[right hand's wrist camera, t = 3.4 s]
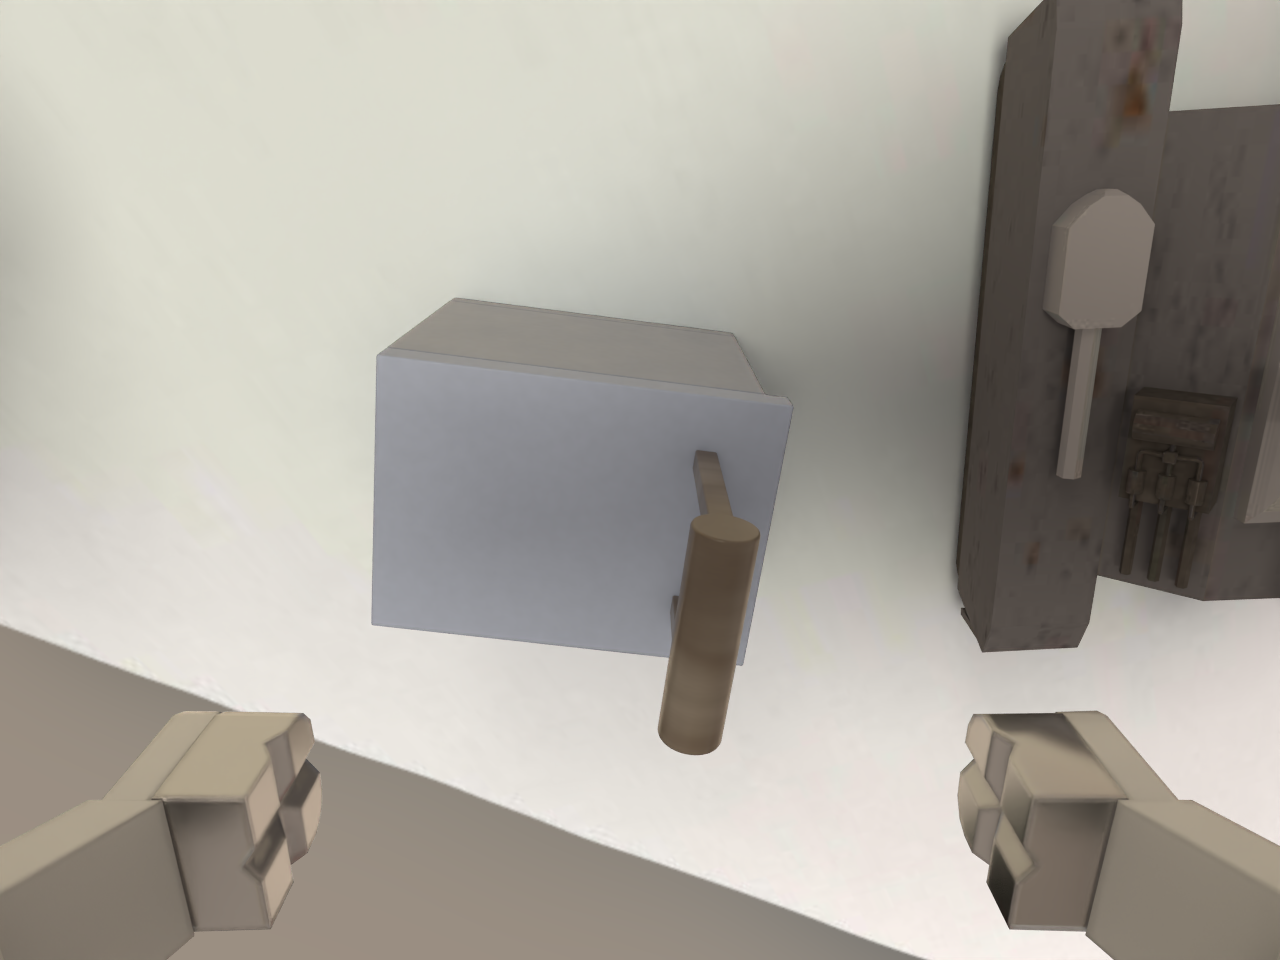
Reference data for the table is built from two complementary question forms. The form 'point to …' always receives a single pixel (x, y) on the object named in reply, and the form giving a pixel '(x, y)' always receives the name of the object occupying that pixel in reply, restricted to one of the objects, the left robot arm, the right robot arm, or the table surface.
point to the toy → (1120, 334)
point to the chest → (583, 344)
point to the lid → (577, 516)
